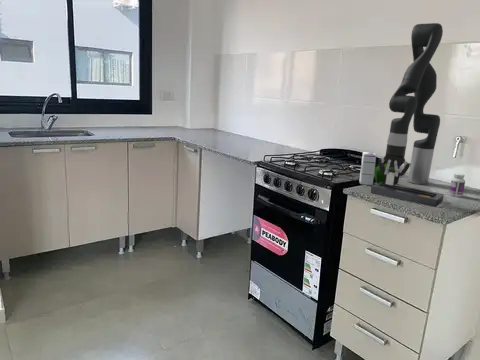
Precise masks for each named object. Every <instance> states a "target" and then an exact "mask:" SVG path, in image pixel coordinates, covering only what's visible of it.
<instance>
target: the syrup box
mask: <svg viewBox="0 0 480 360" xmlns="http://www.w3.org/2000/svg"><path fill="white" fill-rule="evenodd" d="M376 162H377V154H376V153H375V152H370V151H362V156H361V165H360V170H359V171H360V172H359V180H358V181H359V184H360V185H364V186H365V185H366V186H373V185H374V179H375V168H376Z"/></svg>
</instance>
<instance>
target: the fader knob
mask: <svg viewBox="0 0 480 360" xmlns="http://www.w3.org/2000/svg"><path fill="white" fill-rule="evenodd" d="M394 177H395V172H393V173H391V172H390V173H388V174H387V177H386V184H388V185H389V186H392V185H393V184H394Z"/></svg>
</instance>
